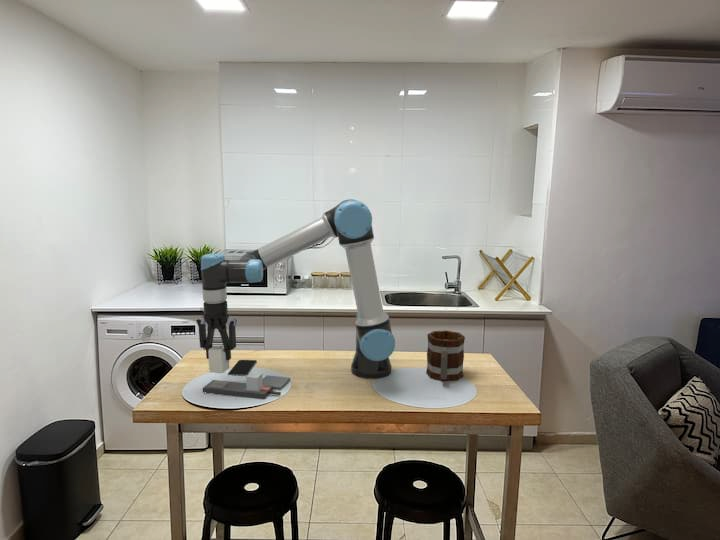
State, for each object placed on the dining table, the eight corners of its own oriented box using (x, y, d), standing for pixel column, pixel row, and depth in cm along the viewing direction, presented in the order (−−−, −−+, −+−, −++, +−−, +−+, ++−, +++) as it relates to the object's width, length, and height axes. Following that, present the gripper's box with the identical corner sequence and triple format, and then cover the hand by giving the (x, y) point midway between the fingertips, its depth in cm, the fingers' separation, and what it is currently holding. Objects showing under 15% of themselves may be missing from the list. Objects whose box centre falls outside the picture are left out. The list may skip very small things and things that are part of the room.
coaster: (290, 380, 178) (290, 377, 178) (281, 390, 169) (280, 387, 169) (266, 377, 180) (266, 375, 179) (256, 387, 171) (256, 385, 171)
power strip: (284, 391, 168) (284, 385, 167) (276, 400, 161) (276, 394, 161) (213, 384, 173) (213, 378, 173) (203, 392, 166) (202, 386, 166)
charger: (228, 368, 170) (227, 344, 168) (222, 373, 165) (221, 349, 164) (216, 367, 170) (215, 344, 169) (210, 372, 166) (208, 348, 165)
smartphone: (226, 374, 182) (239, 359, 196) (227, 376, 182) (239, 361, 197) (246, 374, 181) (257, 360, 196) (247, 377, 181) (257, 362, 196)
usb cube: (262, 386, 167) (262, 373, 167) (257, 390, 164) (257, 377, 163) (251, 384, 168) (251, 372, 167) (246, 389, 164) (246, 376, 164)
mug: (427, 366, 192) (428, 329, 189) (463, 369, 189) (465, 331, 187) (423, 386, 173) (424, 345, 170) (463, 390, 170) (464, 348, 168)
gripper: (245, 299, 165) (248, 366, 169) (197, 297, 169) (201, 362, 173) (234, 304, 158) (238, 374, 162) (184, 302, 162) (189, 370, 166)
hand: (219, 368), depth 168 cm, fingers closed on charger, 4 cm apart
